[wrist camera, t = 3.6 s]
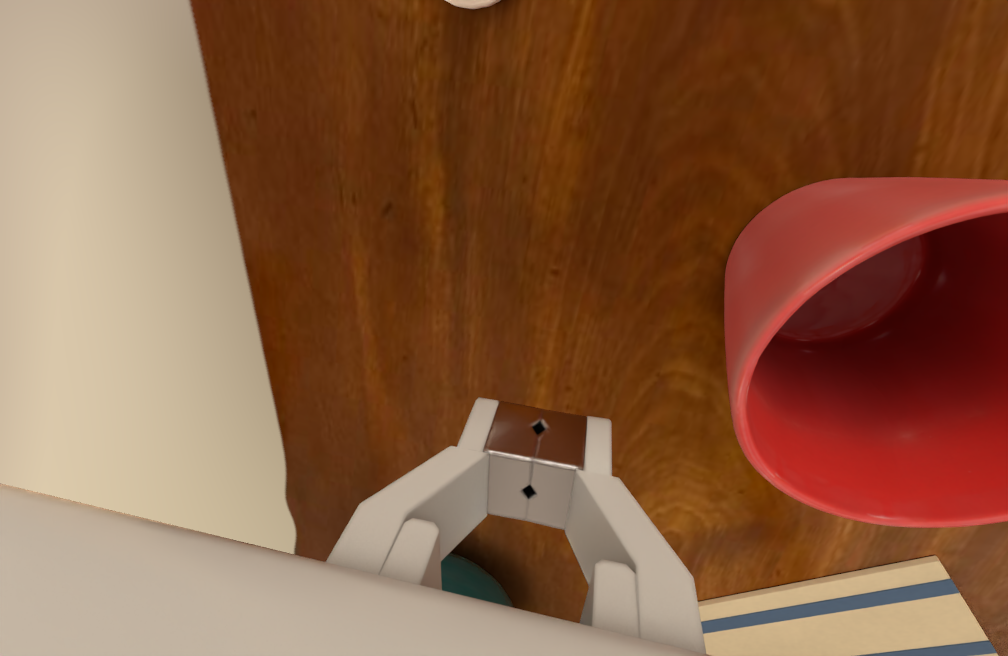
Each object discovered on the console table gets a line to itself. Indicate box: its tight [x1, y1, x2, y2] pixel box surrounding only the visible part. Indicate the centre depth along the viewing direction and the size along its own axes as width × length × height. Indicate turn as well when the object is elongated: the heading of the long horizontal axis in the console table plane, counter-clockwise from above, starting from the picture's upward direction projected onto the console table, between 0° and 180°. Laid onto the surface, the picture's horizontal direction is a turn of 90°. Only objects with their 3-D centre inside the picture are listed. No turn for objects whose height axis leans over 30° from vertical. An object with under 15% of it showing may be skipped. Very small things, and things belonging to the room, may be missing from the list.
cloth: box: [698, 555, 998, 656], centre depth 33 cm, size 20×12×1 cm, turn 130°
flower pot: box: [724, 177, 1008, 528], centre depth 16 cm, size 11×11×10 cm
